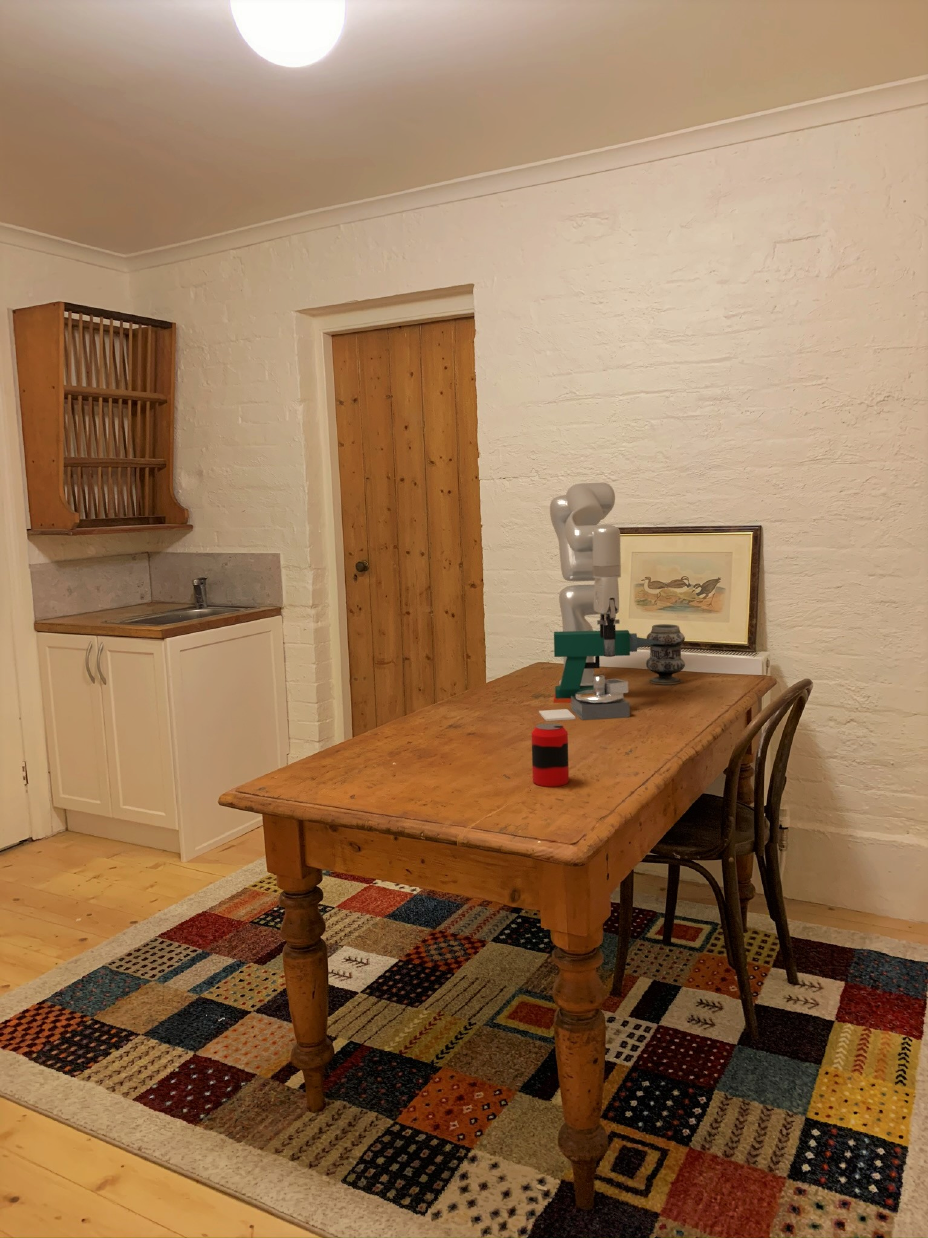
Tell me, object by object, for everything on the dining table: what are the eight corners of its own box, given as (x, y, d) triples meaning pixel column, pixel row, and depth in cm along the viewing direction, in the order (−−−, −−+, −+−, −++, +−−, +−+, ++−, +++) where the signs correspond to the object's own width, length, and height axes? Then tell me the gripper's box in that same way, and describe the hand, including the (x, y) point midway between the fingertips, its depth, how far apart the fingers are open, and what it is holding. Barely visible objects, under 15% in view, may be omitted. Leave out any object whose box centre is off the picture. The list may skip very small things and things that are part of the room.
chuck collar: (566, 696, 264) (566, 675, 264) (607, 690, 271) (607, 669, 270) (593, 704, 253) (593, 682, 252) (636, 698, 259) (635, 676, 258)
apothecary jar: (688, 685, 296) (688, 627, 294) (649, 686, 296) (649, 629, 294) (680, 677, 308) (680, 622, 306) (643, 679, 308) (642, 623, 306)
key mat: (539, 713, 265) (538, 710, 265) (567, 711, 266) (567, 709, 266) (546, 721, 255) (546, 718, 255) (575, 719, 256) (575, 717, 256)
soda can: (563, 788, 196) (562, 731, 195) (528, 785, 199) (526, 729, 197) (572, 778, 203) (571, 723, 202) (538, 775, 206) (536, 721, 204)
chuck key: (598, 655, 266) (597, 619, 264) (620, 654, 265) (618, 618, 264) (598, 657, 263) (597, 621, 261) (620, 656, 262) (619, 620, 261)
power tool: (662, 696, 281) (661, 629, 279) (664, 701, 275) (664, 632, 272) (553, 697, 285) (552, 631, 282) (553, 702, 278) (551, 634, 275)
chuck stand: (571, 709, 268) (570, 695, 267) (616, 707, 269) (616, 693, 269) (582, 720, 255) (581, 705, 254) (629, 717, 256) (629, 702, 256)
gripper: (586, 570, 268) (587, 634, 271) (601, 575, 252) (602, 643, 255) (612, 569, 269) (613, 633, 271) (628, 573, 253) (629, 642, 255)
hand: (607, 637), depth 263 cm, fingers closed on chuck key, 3 cm apart
